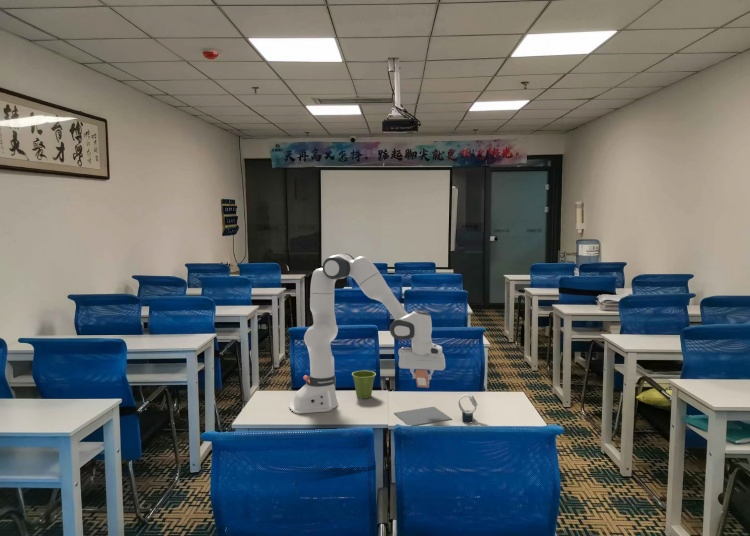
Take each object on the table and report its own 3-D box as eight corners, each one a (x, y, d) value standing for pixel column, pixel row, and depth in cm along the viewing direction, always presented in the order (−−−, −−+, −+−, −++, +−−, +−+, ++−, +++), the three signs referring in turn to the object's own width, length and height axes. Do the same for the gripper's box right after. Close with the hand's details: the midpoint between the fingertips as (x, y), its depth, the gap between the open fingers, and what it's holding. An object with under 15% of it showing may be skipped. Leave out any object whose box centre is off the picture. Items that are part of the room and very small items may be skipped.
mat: (409, 426, 207) (409, 425, 207) (393, 413, 222) (393, 412, 222) (451, 419, 214) (451, 418, 214) (433, 407, 229) (433, 406, 229)
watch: (477, 422, 210) (477, 397, 209) (458, 422, 211) (458, 396, 210) (476, 417, 216) (477, 392, 215) (458, 417, 217) (458, 392, 216)
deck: (418, 380, 225) (415, 369, 218) (429, 381, 224) (427, 369, 217) (417, 387, 223) (415, 376, 216) (428, 387, 222) (426, 376, 215)
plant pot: (378, 399, 241) (378, 376, 240) (354, 401, 238) (354, 378, 237) (373, 391, 252) (373, 369, 251) (350, 393, 250) (349, 371, 249)
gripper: (396, 348, 217) (397, 379, 218) (444, 350, 213) (444, 382, 214) (399, 345, 223) (399, 375, 224) (445, 347, 219) (445, 378, 220)
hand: (421, 378), depth 219 cm, fingers closed on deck, 5 cm apart
